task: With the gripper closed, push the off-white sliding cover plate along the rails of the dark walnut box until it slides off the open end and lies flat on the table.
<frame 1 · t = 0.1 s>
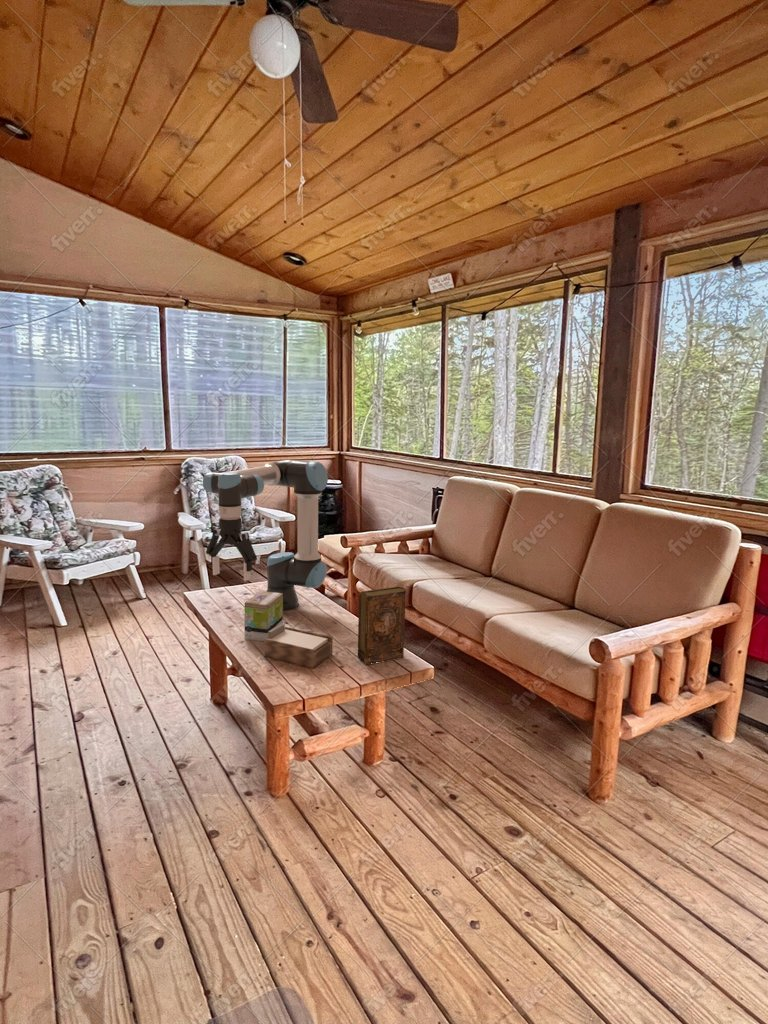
hand: (231, 577, 205), 28 cm above the table, fingers open, 13 cm apart
tea box: (264, 634, 227), on the table
walnut box: (298, 655, 208), on the table
cover plate: (297, 642, 207), point 5 cm above the table, touching walnut box
book: (381, 659, 208), on the table
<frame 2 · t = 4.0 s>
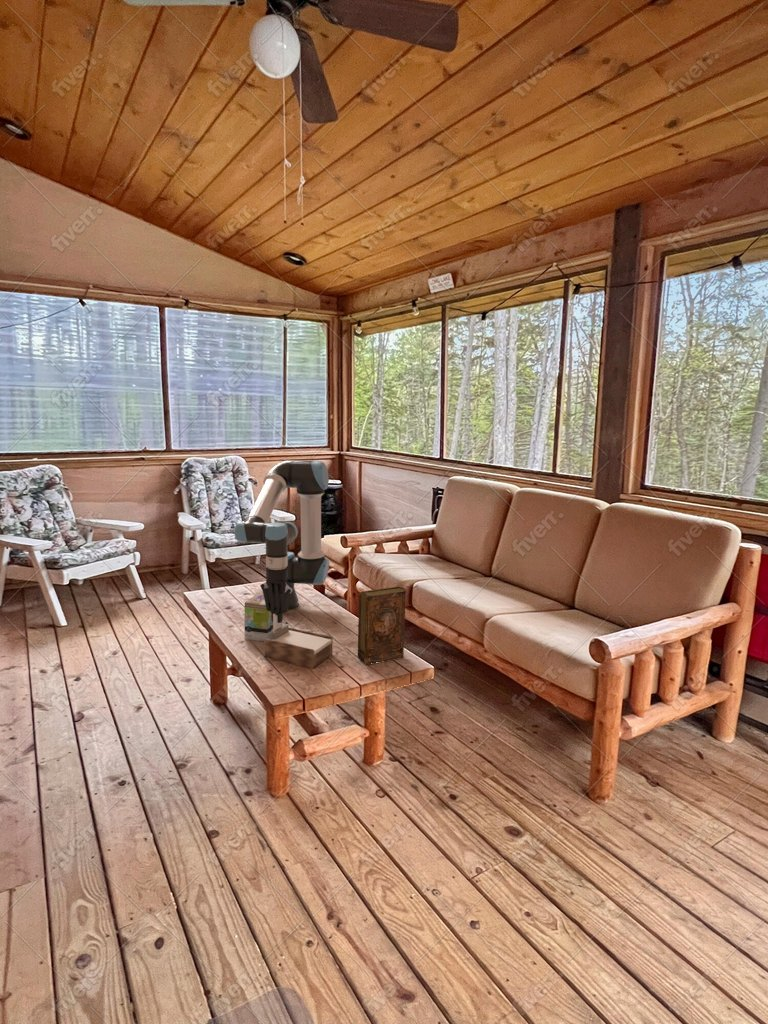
hand: (277, 630, 210), 8 cm above the table, fingers closed
cover plate: (301, 643, 206), point 5 cm above the table, touching gripper
everything else where it was.
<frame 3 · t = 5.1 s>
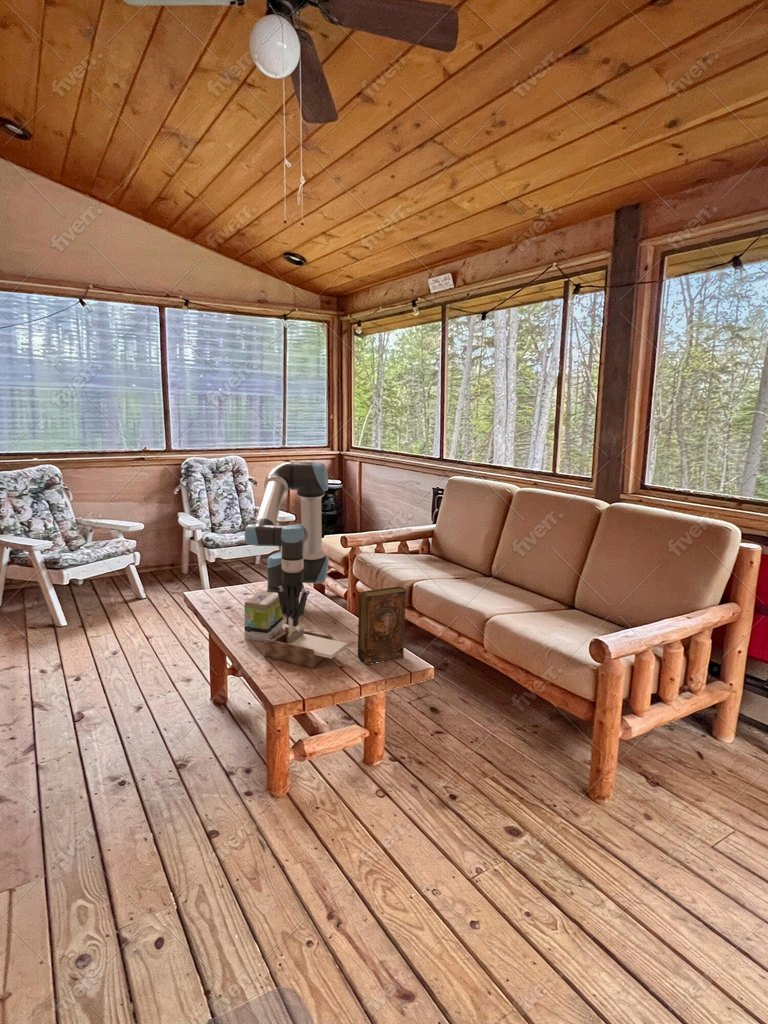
hand: (292, 634, 207), 8 cm above the table, fingers closed
cover plate: (317, 647, 204), point 5 cm above the table, touching gripper, walnut box
everything else where it was.
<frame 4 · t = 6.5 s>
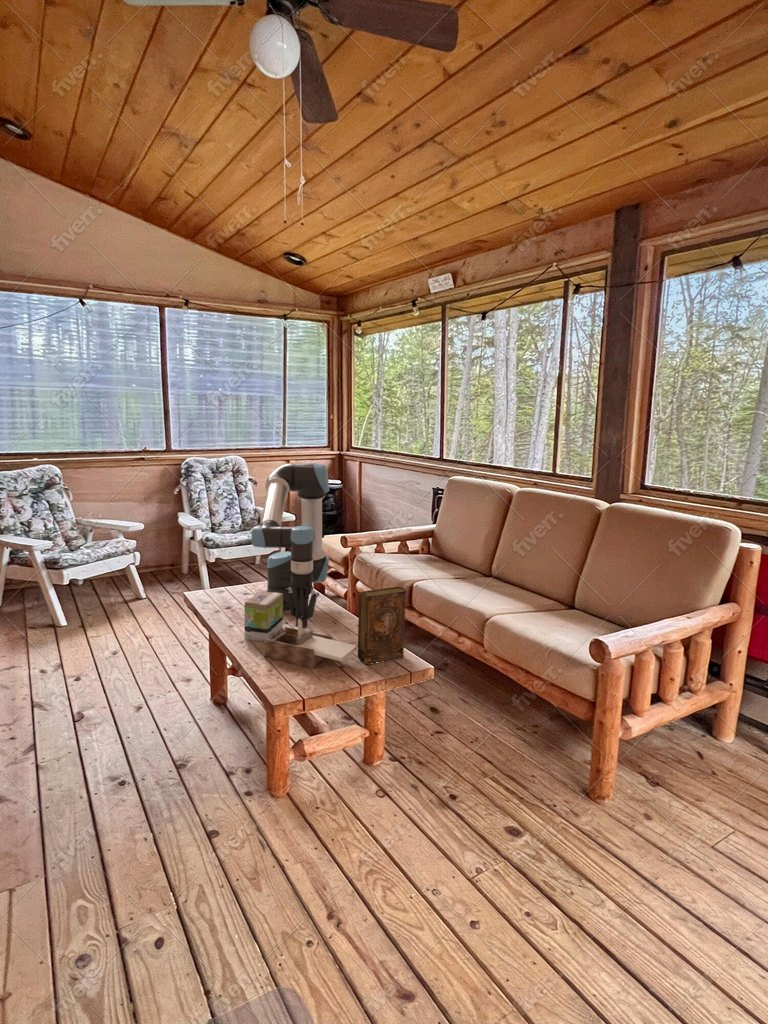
hand: (301, 635, 206), 8 cm above the table, fingers closed
cover plate: (326, 649, 202), point 5 cm above the table, touching gripper, walnut box
everything else where it was.
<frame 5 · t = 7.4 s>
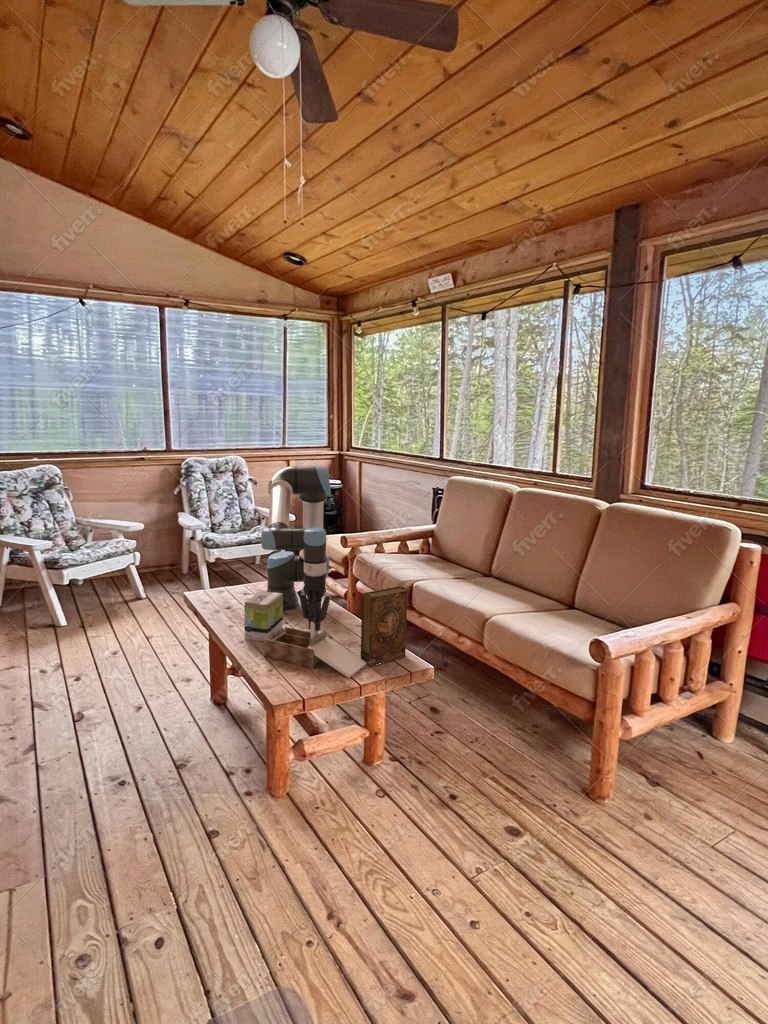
hand: (314, 638, 204), 8 cm above the table, fingers closed
cover plate: (336, 657, 200), point 3 cm above the table, tilted 20°, touching gripper
book: (384, 659, 207), on the table
everything else where it was.
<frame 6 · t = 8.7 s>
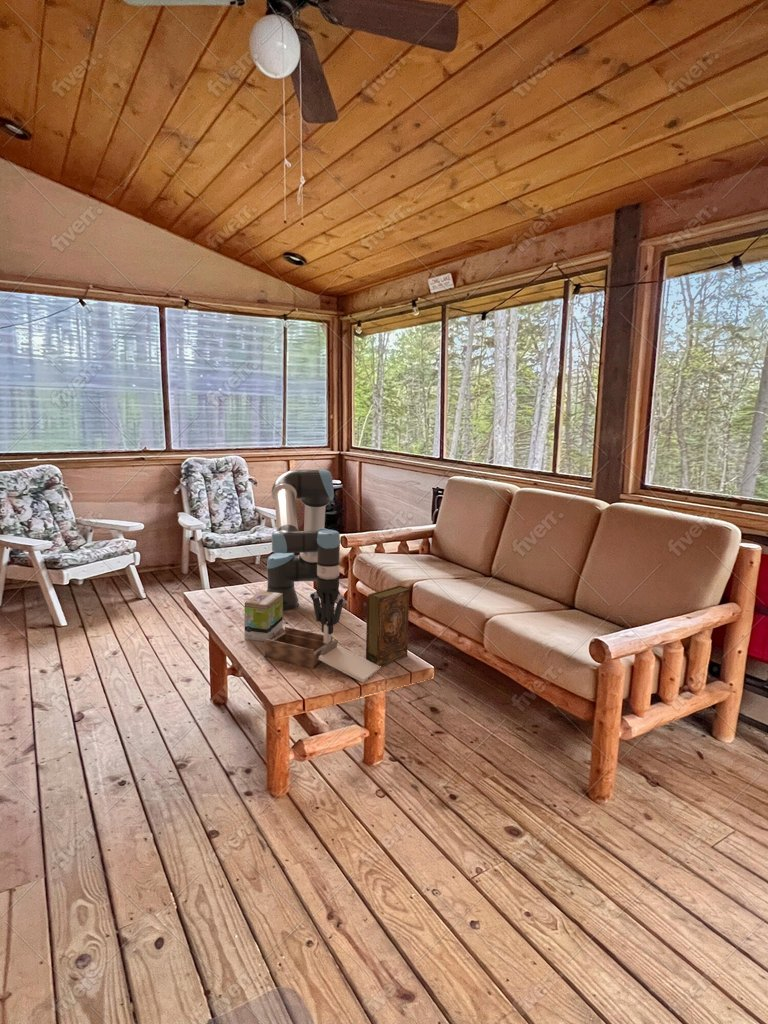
hand: (327, 641, 202), 8 cm above the table, fingers closed
cover plate: (349, 664, 198), point 2 cm above the table, tilted 12°, touching book, gripper
book: (388, 659, 207), on the table, touching cover plate
everything else where it was.
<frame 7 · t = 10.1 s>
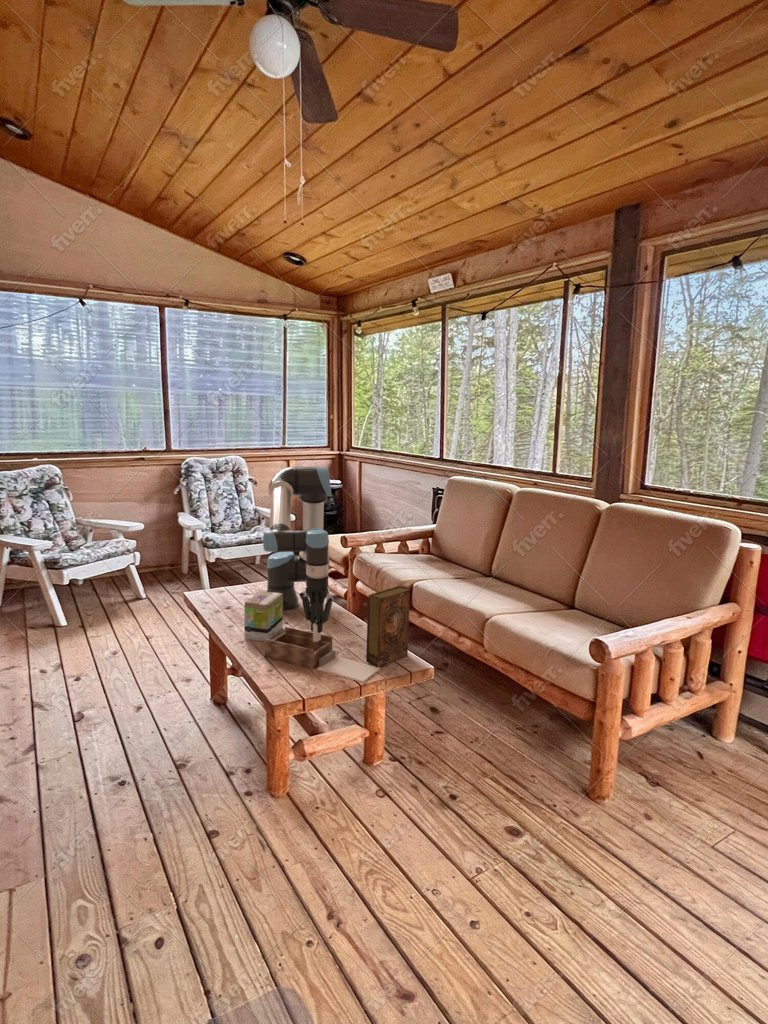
hand: (316, 640, 204), 7 cm above the table, fingers closed
cover plate: (348, 671, 198), on the table
book: (388, 660, 207), on the table
everything else where it was.
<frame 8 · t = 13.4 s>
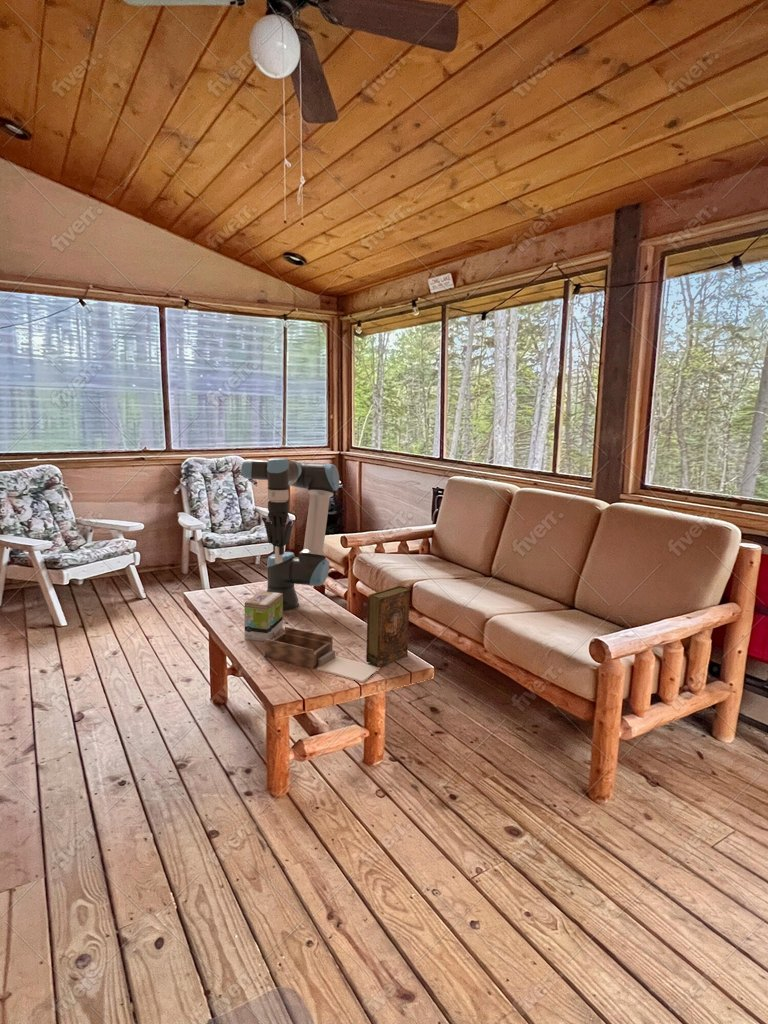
hand: (278, 562, 219), 29 cm above the table, fingers closed
nothing on the table moved.
at the end: cover plate inside the target area (4.8 cm from its centre), on the table; cover plate tilted 0° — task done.
